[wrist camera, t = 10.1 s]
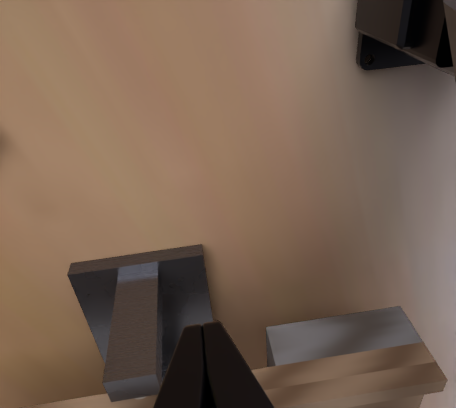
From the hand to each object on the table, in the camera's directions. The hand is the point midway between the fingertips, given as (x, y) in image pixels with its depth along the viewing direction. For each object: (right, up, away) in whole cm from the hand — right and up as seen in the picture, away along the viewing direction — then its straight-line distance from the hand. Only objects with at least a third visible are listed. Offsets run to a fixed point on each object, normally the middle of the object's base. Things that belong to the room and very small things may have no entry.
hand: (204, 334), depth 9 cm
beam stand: (-5, -6, +19) cm, 20 cm away
